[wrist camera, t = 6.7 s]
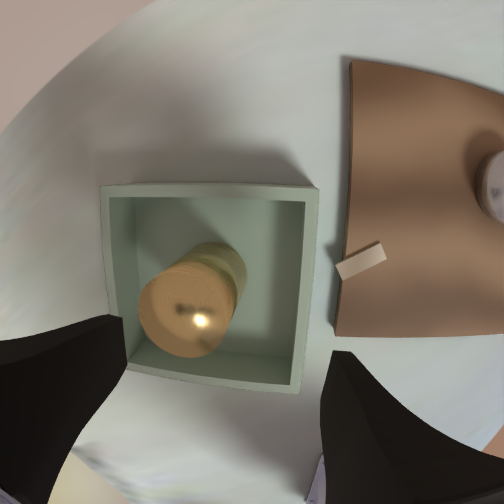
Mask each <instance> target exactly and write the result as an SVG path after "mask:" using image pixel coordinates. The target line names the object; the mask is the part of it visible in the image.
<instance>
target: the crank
mask: <svg viewBox="0 0 504 504" xmlns="http://www.w3.org/2000/svg"><path fill="white" fill-rule="evenodd" d="M476 194H477V198H478V202H479V204H480V206H481V208H482V210H483V211H484V213H485V214H486V215H487V216H488V217H489V218H491V219H492V220H494V221H497V222H500V223H503V224H504V150H499V151H493V152H490V153H489V154H487V155H486V156H485V157H484V158H483V159H482V161H481V163H480V165H479V167H478V170H477V174H476Z"/></svg>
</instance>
